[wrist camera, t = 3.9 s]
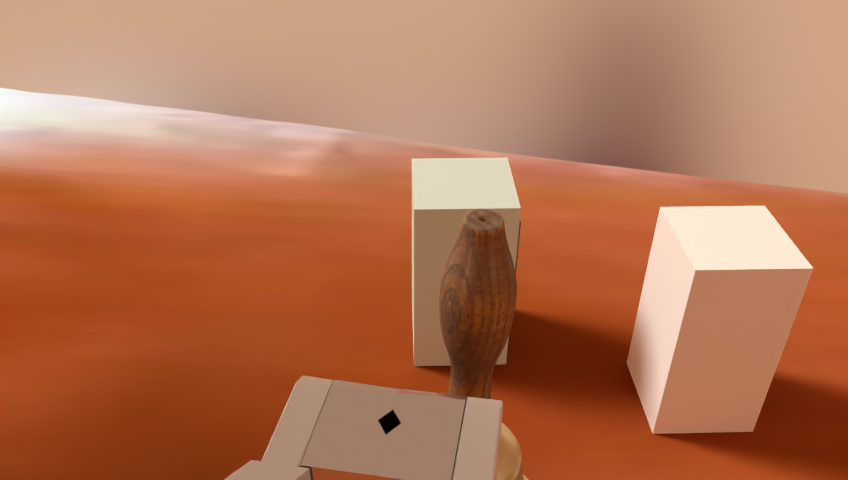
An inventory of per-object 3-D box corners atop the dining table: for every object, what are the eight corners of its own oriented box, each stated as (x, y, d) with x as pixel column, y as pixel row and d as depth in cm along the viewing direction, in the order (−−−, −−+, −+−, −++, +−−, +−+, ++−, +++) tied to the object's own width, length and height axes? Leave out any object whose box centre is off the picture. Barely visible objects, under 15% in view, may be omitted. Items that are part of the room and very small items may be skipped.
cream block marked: (652, 433, 37) (695, 270, 31) (626, 362, 41) (660, 206, 36) (758, 431, 37) (820, 268, 32) (722, 361, 41) (770, 205, 36)
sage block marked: (414, 366, 41) (414, 209, 35) (412, 307, 45) (411, 158, 39) (511, 364, 41) (526, 208, 35) (500, 306, 45) (512, 157, 40)
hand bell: (398, 439, 37) (394, 145, 28) (570, 480, 35) (624, 178, 26) (334, 594, 30) (300, 274, 21) (540, 656, 28) (600, 333, 19)
